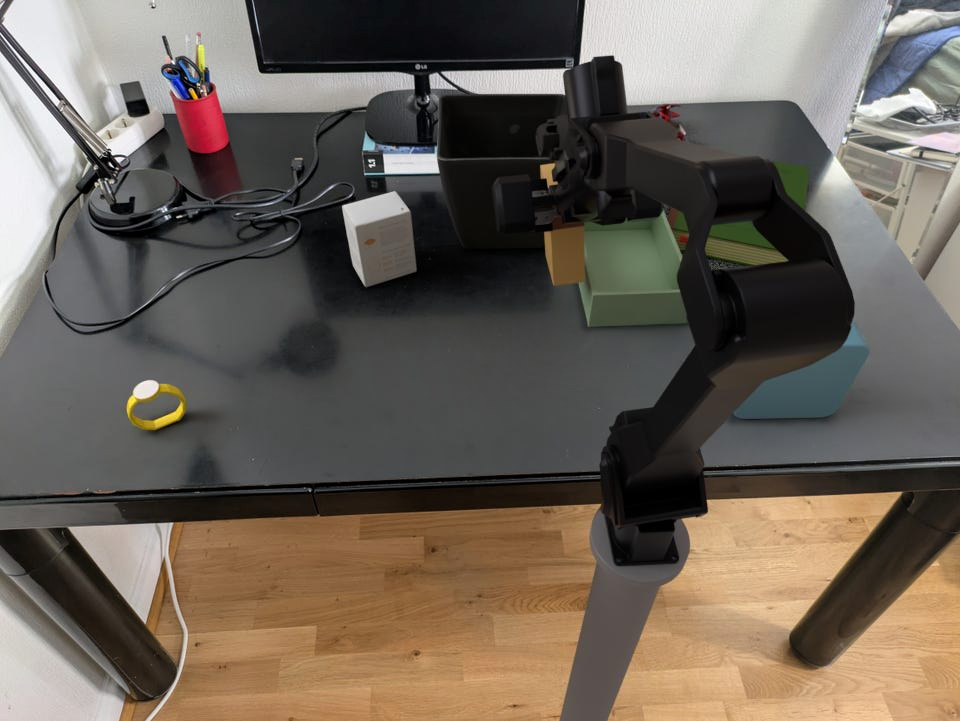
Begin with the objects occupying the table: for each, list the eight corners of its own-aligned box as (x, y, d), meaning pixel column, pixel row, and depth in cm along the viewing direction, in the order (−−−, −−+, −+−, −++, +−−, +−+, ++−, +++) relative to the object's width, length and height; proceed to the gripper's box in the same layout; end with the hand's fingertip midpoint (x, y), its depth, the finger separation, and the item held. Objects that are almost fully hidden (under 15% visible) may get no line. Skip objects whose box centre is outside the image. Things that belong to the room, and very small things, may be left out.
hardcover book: (686, 167, 118) (691, 147, 116) (801, 187, 113) (809, 167, 111) (659, 250, 102) (663, 229, 99) (792, 278, 97) (800, 257, 95)
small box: (403, 251, 102) (396, 189, 95) (417, 272, 99) (412, 210, 91) (351, 266, 100) (340, 204, 92) (364, 288, 96) (354, 226, 89)
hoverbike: (666, 120, 130) (671, 90, 126) (689, 151, 122) (696, 121, 118) (639, 122, 130) (644, 93, 125) (661, 154, 121) (667, 124, 117)
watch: (189, 404, 82) (172, 370, 78) (194, 421, 80) (177, 386, 76) (136, 424, 80) (116, 389, 76) (140, 440, 78) (120, 406, 74)
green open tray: (687, 323, 91) (696, 291, 87) (588, 327, 91) (592, 295, 87) (652, 229, 106) (658, 198, 102) (566, 232, 105) (569, 201, 101)
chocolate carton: (585, 282, 86) (583, 187, 78) (553, 286, 86) (547, 192, 78) (575, 252, 92) (573, 160, 83) (545, 256, 92) (539, 164, 83)
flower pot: (558, 190, 113) (567, 90, 101) (572, 261, 100) (584, 156, 88) (443, 192, 113) (438, 93, 101) (442, 264, 100) (436, 159, 88)
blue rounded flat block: (819, 389, 83) (858, 315, 74) (833, 418, 80) (876, 344, 71) (720, 390, 83) (747, 317, 74) (730, 420, 80) (760, 346, 71)
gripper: (674, 95, 71) (625, 142, 86) (495, 111, 68) (477, 156, 84) (687, 203, 71) (636, 231, 86) (509, 222, 69) (489, 247, 84)
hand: (560, 214), depth 85 cm, fingers closed on chocolate carton, 4 cm apart
